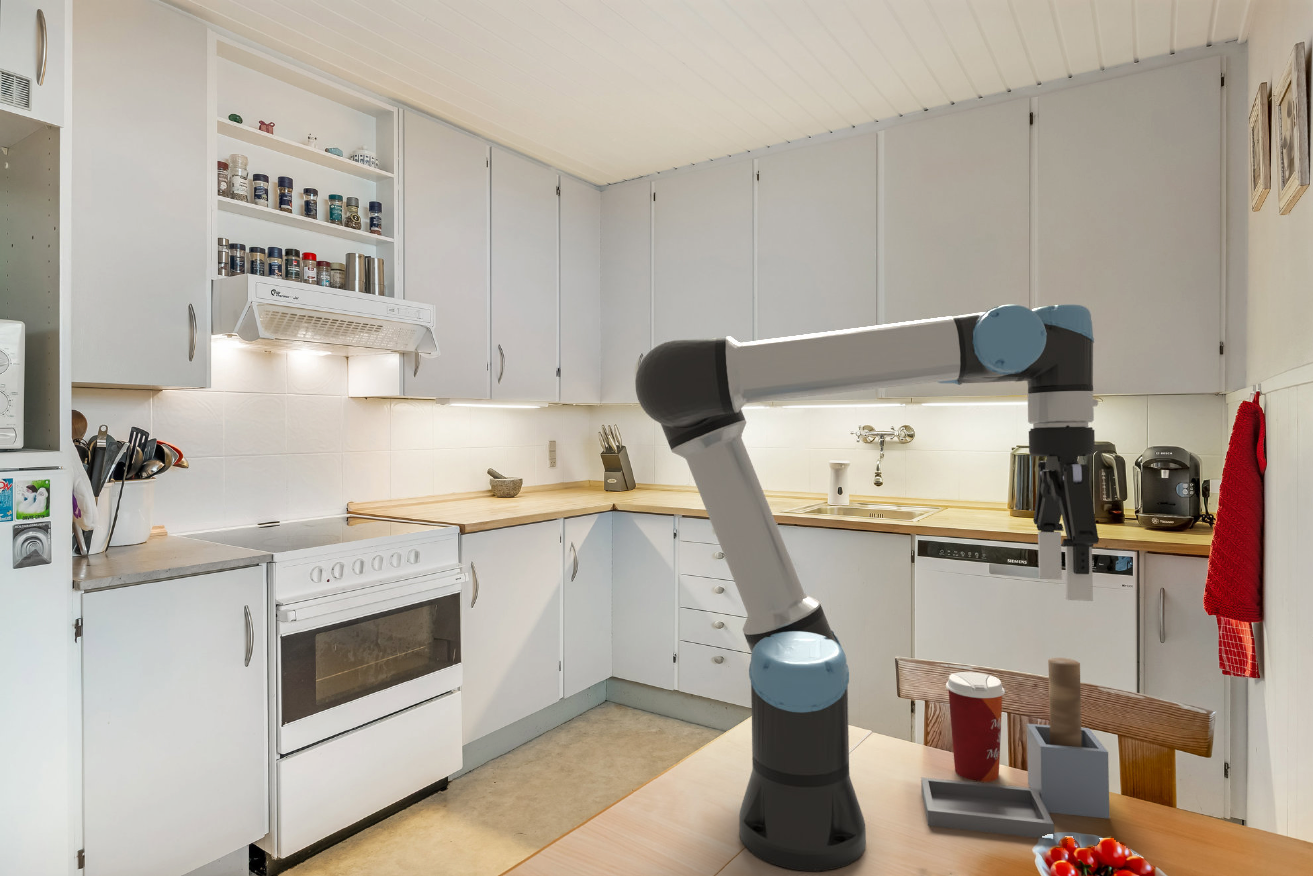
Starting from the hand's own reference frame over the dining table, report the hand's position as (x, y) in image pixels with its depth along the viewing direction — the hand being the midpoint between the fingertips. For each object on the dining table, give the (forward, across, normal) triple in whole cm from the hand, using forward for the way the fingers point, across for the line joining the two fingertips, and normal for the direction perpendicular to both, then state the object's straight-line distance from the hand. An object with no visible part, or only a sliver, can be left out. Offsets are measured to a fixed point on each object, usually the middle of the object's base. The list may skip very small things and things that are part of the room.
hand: (1063, 589), depth 95 cm
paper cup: (+29, +6, +10) cm, 31 cm away
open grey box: (+28, 0, 0) cm, 28 cm away
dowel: (+28, 0, 0) cm, 28 cm away
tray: (+28, -6, +11) cm, 31 cm away
